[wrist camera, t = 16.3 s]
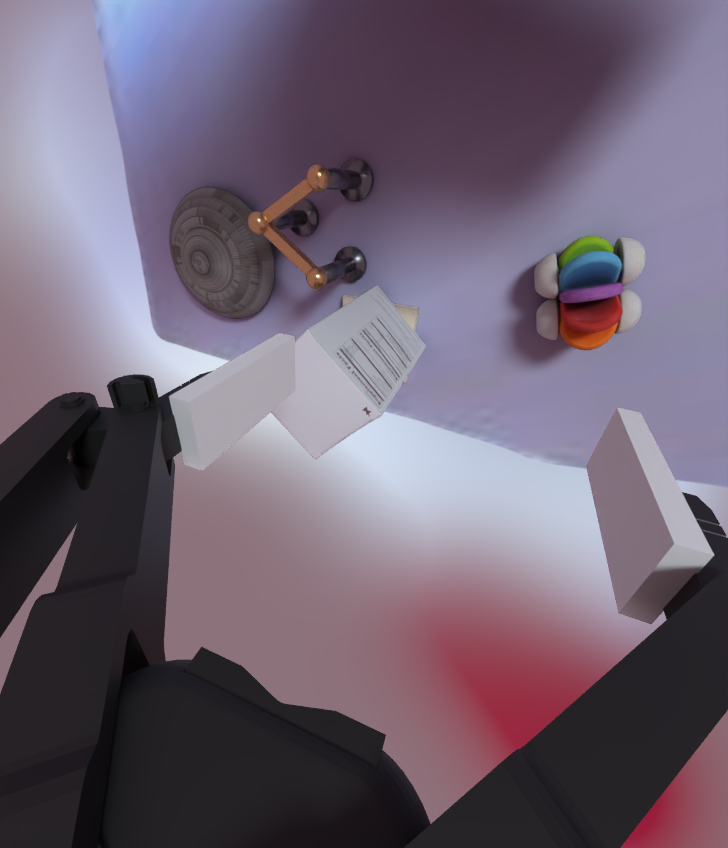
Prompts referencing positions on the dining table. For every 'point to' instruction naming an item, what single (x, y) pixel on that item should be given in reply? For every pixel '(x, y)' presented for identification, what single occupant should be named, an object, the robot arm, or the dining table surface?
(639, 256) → the rainbow disc toy
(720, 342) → the dining table surface
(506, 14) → the dining table surface
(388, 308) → the supplement box
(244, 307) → the flying saucer
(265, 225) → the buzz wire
